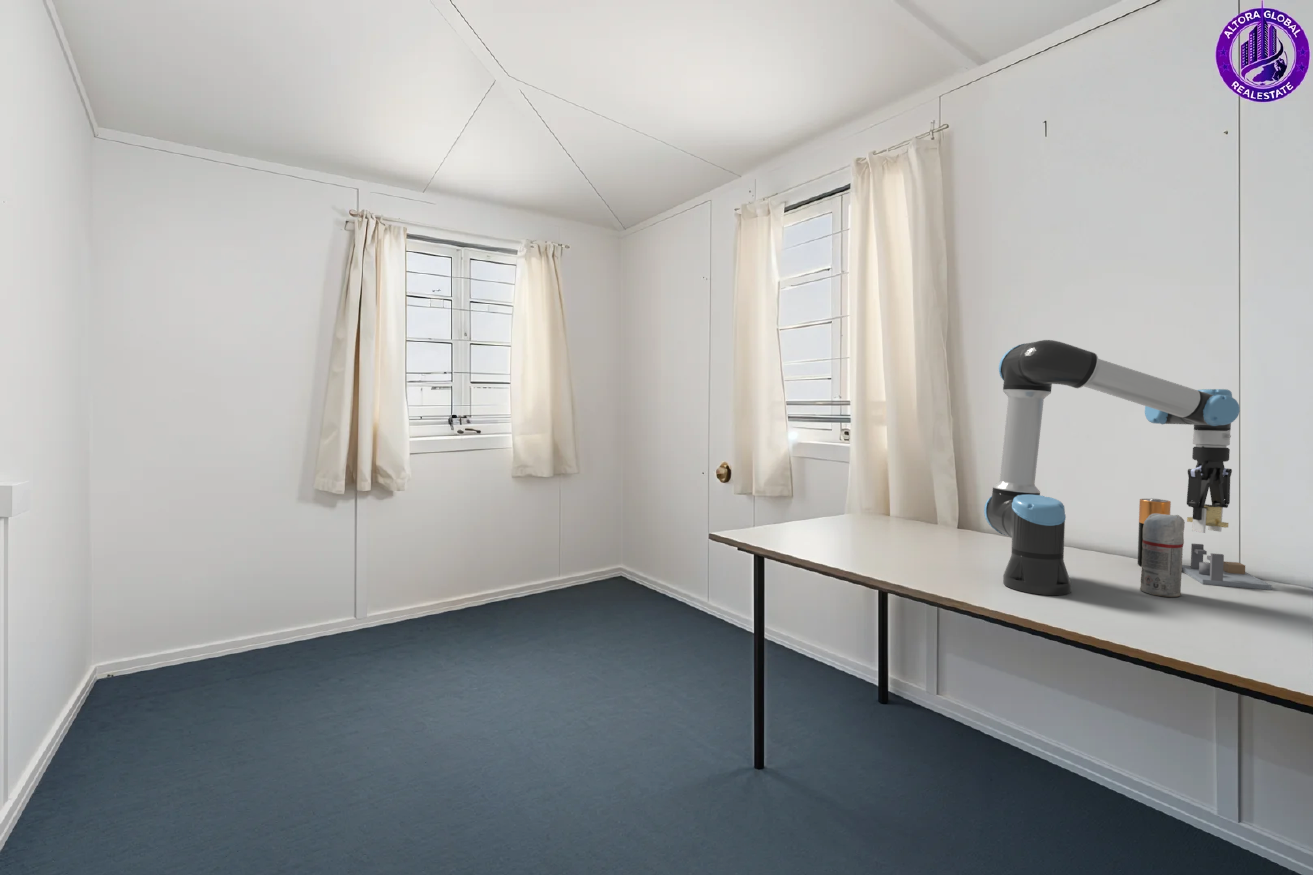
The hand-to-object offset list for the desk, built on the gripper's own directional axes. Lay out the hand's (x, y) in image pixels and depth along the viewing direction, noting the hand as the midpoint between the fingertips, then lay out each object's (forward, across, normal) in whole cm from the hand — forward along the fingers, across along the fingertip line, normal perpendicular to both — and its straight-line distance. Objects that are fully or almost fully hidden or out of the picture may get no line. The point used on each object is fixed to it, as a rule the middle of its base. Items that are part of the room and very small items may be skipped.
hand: (1206, 531), depth 171 cm
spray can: (+14, -26, -6) cm, 30 cm away
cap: (-2, 0, 0) cm, 2 cm away
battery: (+13, 0, +14) cm, 19 cm away
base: (+13, +4, -2) cm, 14 cm away
